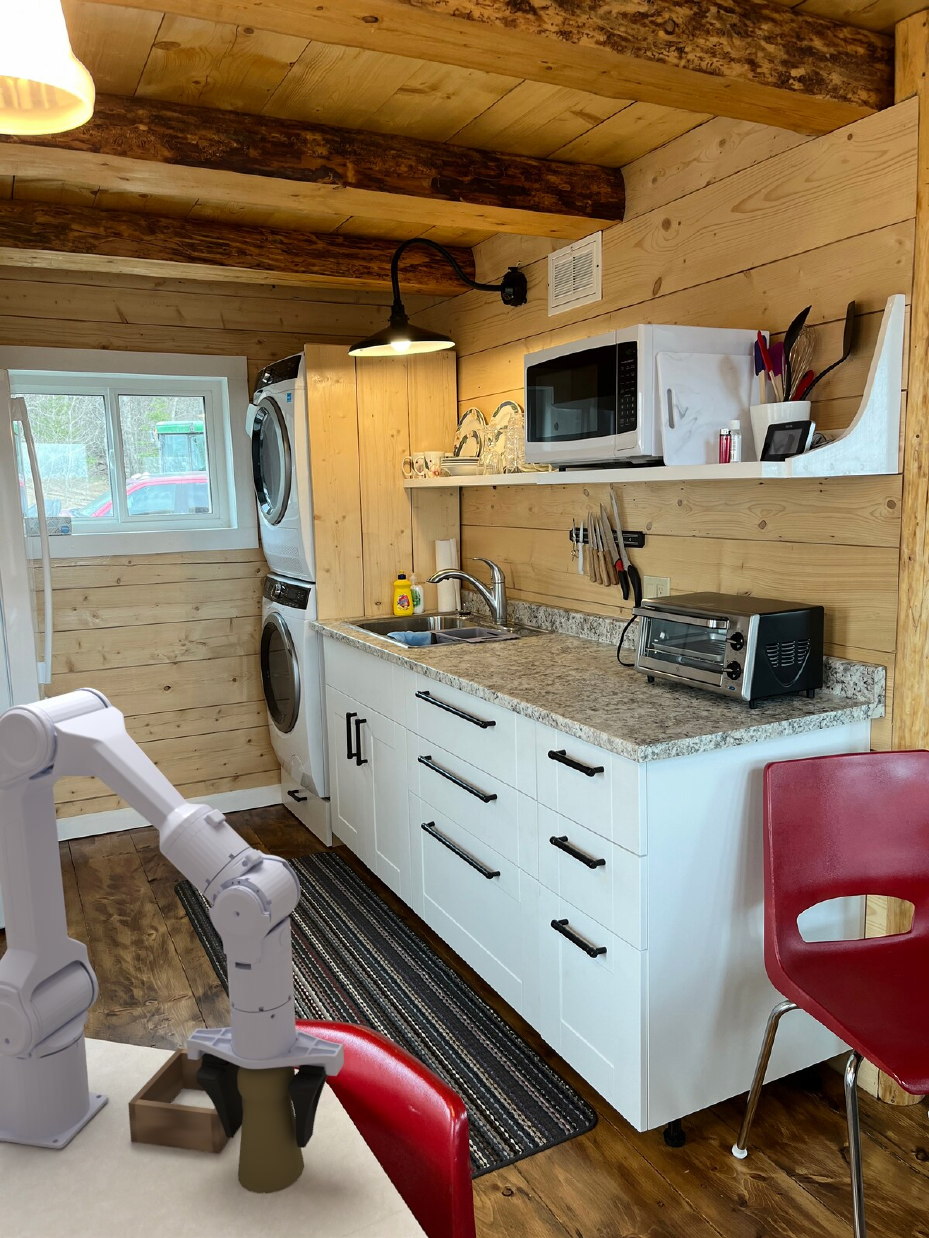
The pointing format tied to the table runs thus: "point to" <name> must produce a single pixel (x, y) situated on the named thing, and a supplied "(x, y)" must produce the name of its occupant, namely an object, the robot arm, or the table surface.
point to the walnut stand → (175, 1110)
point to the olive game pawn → (268, 1131)
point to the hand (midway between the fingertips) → (269, 1135)
